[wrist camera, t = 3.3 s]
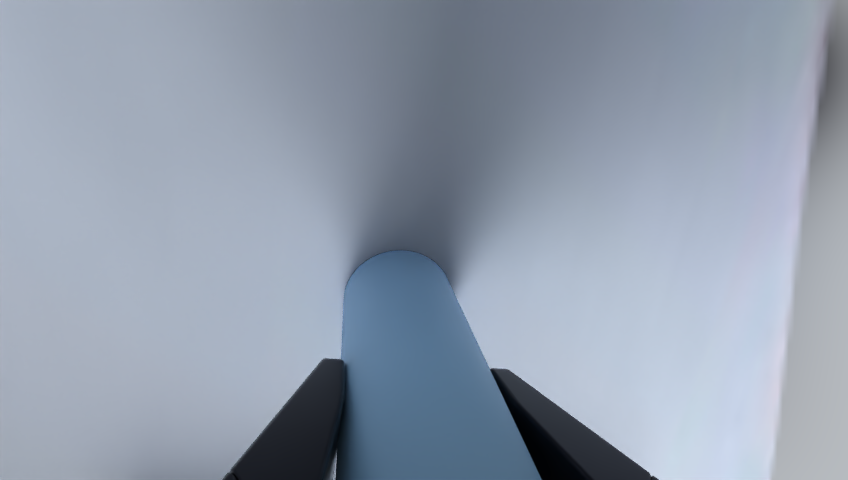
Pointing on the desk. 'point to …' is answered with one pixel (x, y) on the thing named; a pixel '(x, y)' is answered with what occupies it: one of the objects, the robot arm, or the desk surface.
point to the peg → (419, 383)
